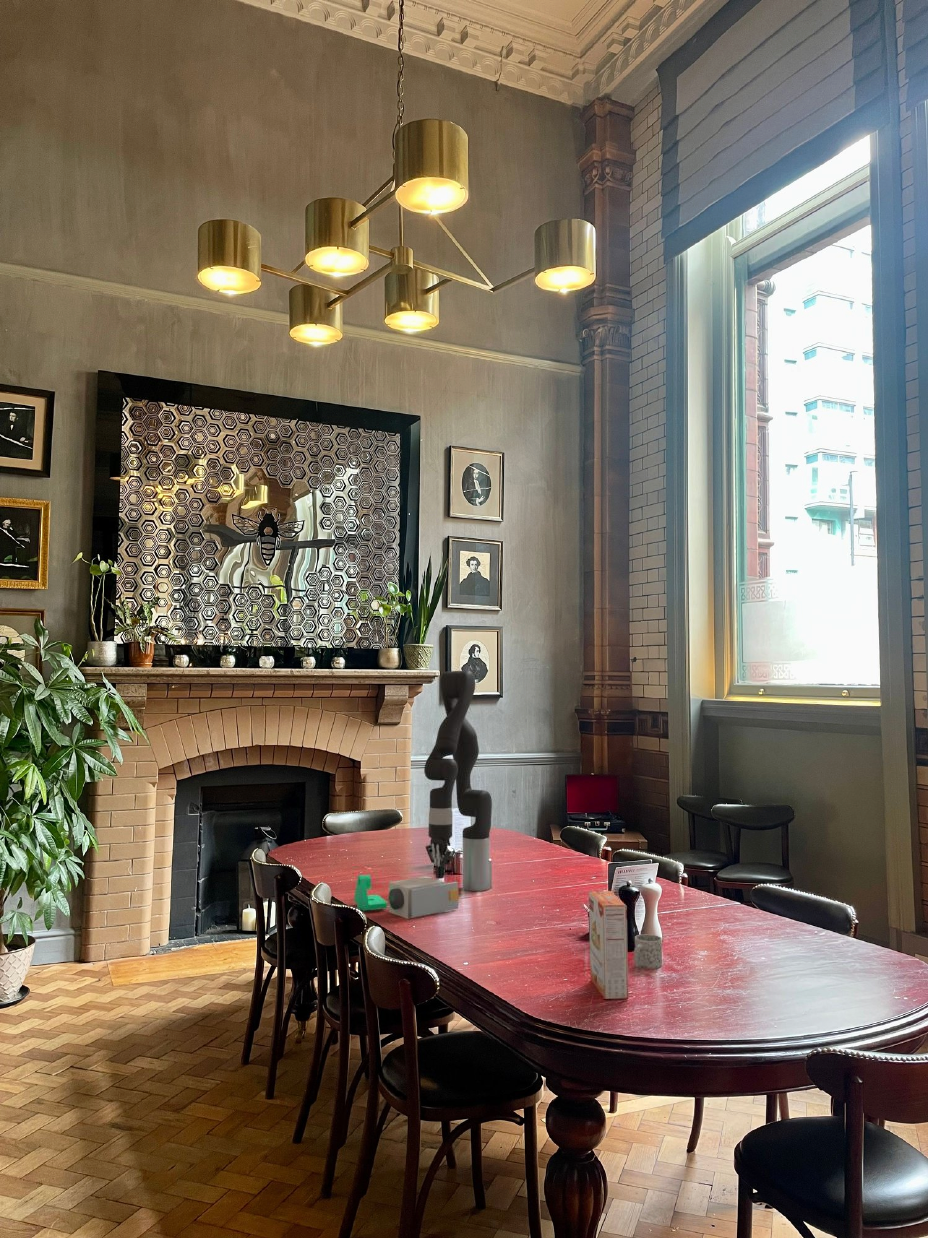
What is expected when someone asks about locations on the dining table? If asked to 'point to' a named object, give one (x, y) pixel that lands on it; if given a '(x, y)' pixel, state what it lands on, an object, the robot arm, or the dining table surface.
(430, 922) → the dining table surface
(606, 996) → the cracker box
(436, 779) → the robot arm
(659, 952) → the mug
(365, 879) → the camera mount
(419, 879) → the camera housing
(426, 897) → the side door
